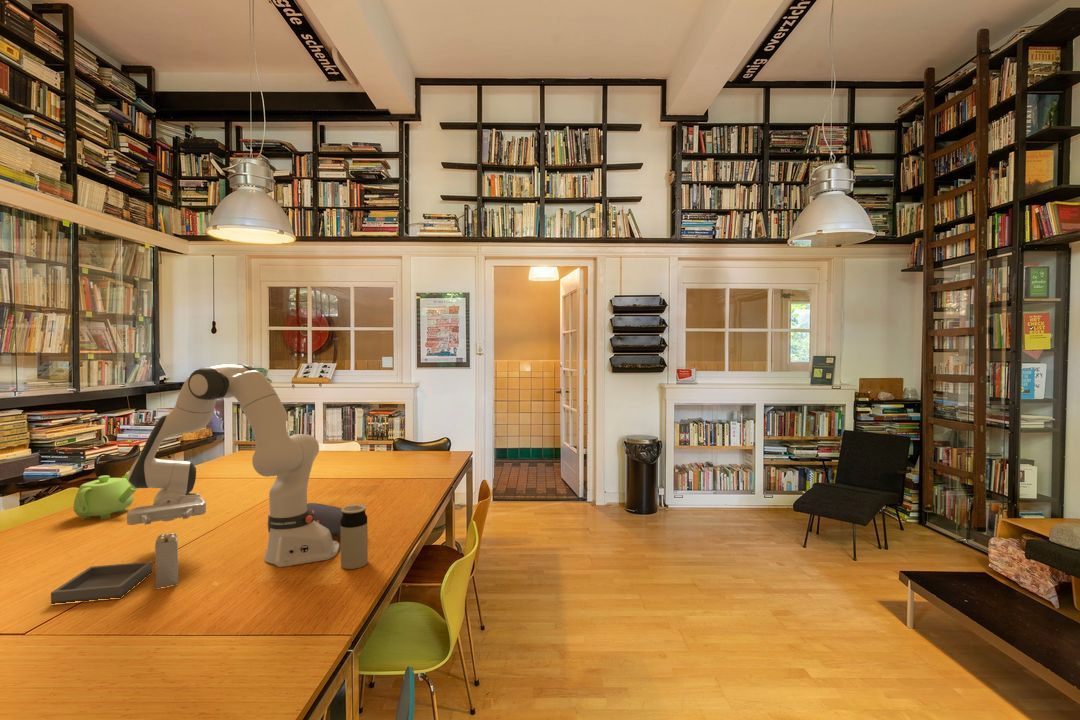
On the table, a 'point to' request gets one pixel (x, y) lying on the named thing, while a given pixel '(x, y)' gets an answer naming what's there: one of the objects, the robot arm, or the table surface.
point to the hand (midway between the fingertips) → (167, 518)
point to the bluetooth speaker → (327, 516)
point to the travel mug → (354, 537)
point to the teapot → (104, 497)
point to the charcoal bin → (102, 582)
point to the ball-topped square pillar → (166, 560)
